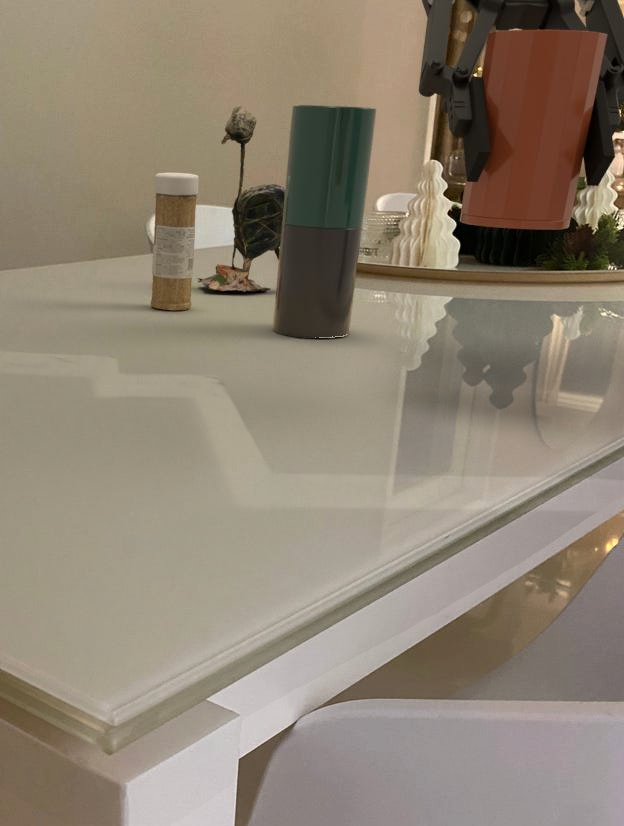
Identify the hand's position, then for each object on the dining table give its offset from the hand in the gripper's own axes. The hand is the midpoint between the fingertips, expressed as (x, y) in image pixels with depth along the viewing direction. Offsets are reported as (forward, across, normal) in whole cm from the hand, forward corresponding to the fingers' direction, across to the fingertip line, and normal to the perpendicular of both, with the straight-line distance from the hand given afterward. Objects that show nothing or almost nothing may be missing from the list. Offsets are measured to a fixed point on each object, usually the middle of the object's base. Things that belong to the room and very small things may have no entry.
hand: (539, 169), depth 71 cm
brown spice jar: (-17, +24, -40) cm, 49 cm away
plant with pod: (-27, +15, -50) cm, 59 cm away
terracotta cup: (0, 0, -5) cm, 5 cm away
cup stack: (-9, +10, -32) cm, 35 cm away
